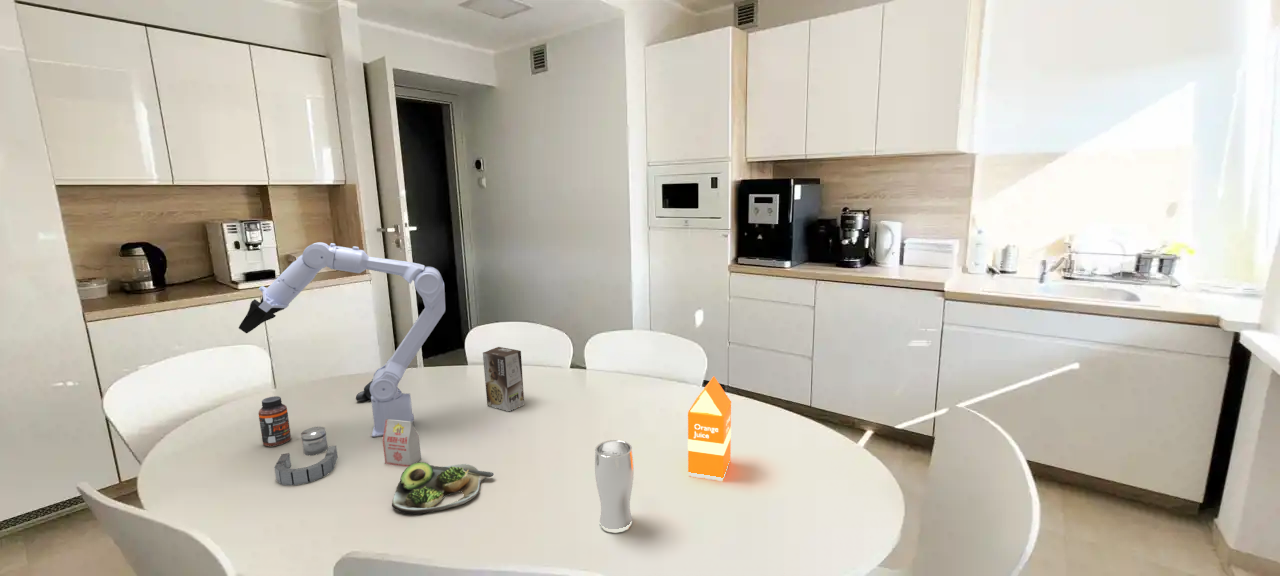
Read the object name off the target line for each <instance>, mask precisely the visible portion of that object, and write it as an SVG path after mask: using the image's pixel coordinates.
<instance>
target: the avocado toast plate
mask: <svg viewBox="0 0 1280 576" xmlns="http://www.w3.org/2000/svg"><path fill="white" fill-rule="evenodd" d="M493 476H494V472H493V471H492V472H491V471H483V470H479V469H478V468H477V467H476V466H474V465H471V464H467V463H460V464H452V465H446V466H445V465H444V466H436V465H432V464H431V465H430V464H429V463H428V462H424V461H418V462H417V463H414V464H412V465H410V466H406V468H405V469H404V470H403V471H402V473H401V475H400V481H399V482H398V483H397V486H396V489H395V493H394V496H393V498H392V501H391V507H392V508H393V509H394V510H395V511H397V512H398V513H402V514H404V515H420V514H426V513H427V514H428V513H432V511H433V512H438V511H441V510H446V509H450V508H454V507H458V506H461V505H464V504H465V503H468V502H469V501H471V500H472V499H474V498H475V497H476V496H477V495H478V493H479V490H480V487H481V486H480V485H481V482H482V481H483V480H485V479H488V478H492V477H493ZM459 491H460V492H461V491H462V492H463V493H462V492H461V493H462V495H463V494H464V495H463V496H462V497H461V498H459V499H458V501H457V500H456V501H454V502H453V501H452V502H449V503H448V504H444V505H440V506H437V505H438V504H439V503H440V502H441V501H442V498H443V497H444V496H445V497H447V496H450V495H451V494H452V495H453V494H454V493H455V494H458V493H459ZM449 494H450V495H449ZM445 497H444V498H445ZM444 498H443V499H444ZM437 503H438V504H437Z"/></svg>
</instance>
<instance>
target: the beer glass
mask: <svg viewBox="0 0 1280 576" xmlns="http://www.w3.org/2000/svg"><path fill="white" fill-rule="evenodd" d="M594 451H595V455H594V476H595V478H594V479H595V482H596V488H597V493H598V497H599V501H600V516H599V522H600V523H601V525H602V526H604V527H605V528H608V529H619V528H623V527H626V526H627V525H629V524H630V522H631V521H632V522H633V516H632V513H631V512H632V511H631V495H632V490H633V484H634V482H633V481H634V459H633V458H634V457H633V446H632V444H630V443H629V442H627V441H624V440H621V439H620V440H618V439H613V440H612V439H610V440H606V441H602V442H600V443H599V444H597V445H596V447H595V449H594Z"/></svg>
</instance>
